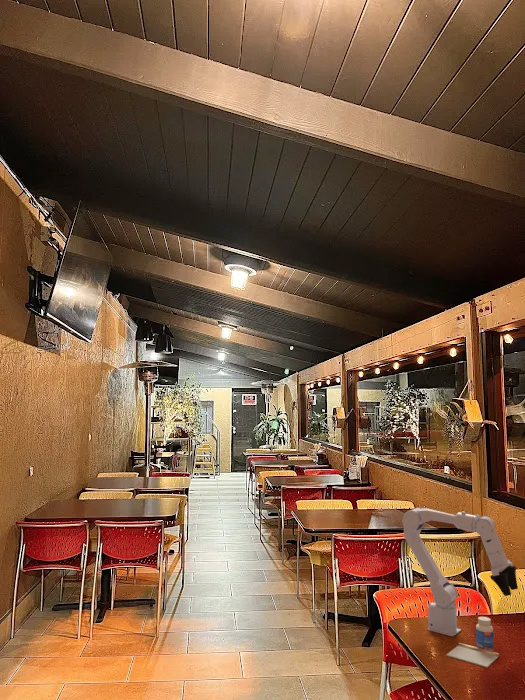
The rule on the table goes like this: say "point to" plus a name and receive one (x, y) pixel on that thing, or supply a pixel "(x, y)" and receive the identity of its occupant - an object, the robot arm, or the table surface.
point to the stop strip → (479, 649)
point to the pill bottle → (484, 634)
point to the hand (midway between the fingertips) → (511, 592)
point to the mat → (472, 656)
